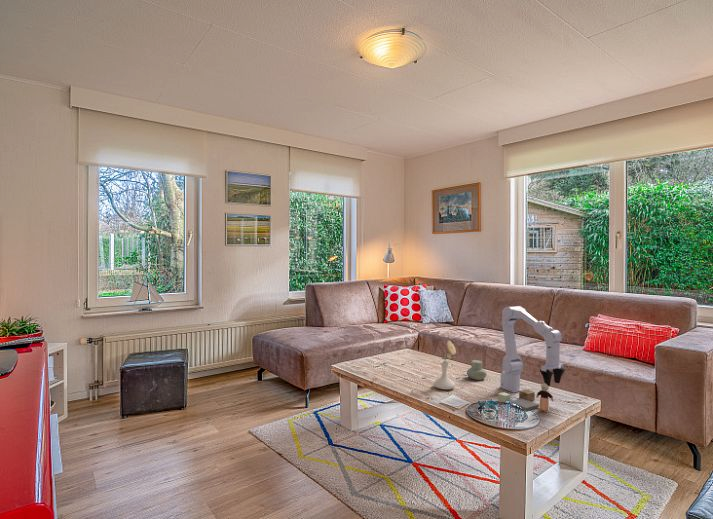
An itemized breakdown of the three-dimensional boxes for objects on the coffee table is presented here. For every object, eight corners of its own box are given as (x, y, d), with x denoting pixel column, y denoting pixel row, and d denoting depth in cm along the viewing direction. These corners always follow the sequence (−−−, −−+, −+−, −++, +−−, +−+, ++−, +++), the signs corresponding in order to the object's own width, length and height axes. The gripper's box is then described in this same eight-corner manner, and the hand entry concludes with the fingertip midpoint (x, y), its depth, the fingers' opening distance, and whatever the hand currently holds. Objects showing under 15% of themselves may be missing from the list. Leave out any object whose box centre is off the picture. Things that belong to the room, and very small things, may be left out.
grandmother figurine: (534, 410, 184) (534, 382, 184) (536, 407, 187) (536, 380, 187) (553, 414, 179) (553, 386, 179) (554, 411, 183) (554, 383, 183)
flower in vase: (444, 392, 207) (444, 344, 206) (428, 386, 216) (429, 340, 216) (461, 388, 214) (462, 341, 214) (446, 382, 223) (446, 337, 223)
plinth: (509, 405, 190) (509, 401, 190) (522, 401, 195) (522, 398, 195) (526, 411, 183) (526, 408, 183) (538, 407, 187) (538, 404, 187)
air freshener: (471, 381, 226) (471, 363, 226) (464, 377, 234) (464, 359, 234) (488, 380, 228) (489, 362, 228) (481, 376, 236) (481, 359, 236)
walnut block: (519, 398, 199) (519, 390, 199) (525, 397, 202) (525, 389, 202) (528, 402, 195) (528, 393, 195) (534, 400, 198) (534, 392, 198)
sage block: (498, 401, 195) (498, 393, 195) (503, 400, 197) (503, 392, 197) (504, 404, 192) (504, 395, 192) (510, 402, 194) (510, 394, 194)
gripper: (551, 359, 184) (550, 389, 184) (569, 355, 192) (569, 384, 192) (537, 356, 190) (537, 384, 190) (555, 352, 198) (555, 379, 198)
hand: (552, 384), depth 191 cm, fingers open, 7 cm apart
